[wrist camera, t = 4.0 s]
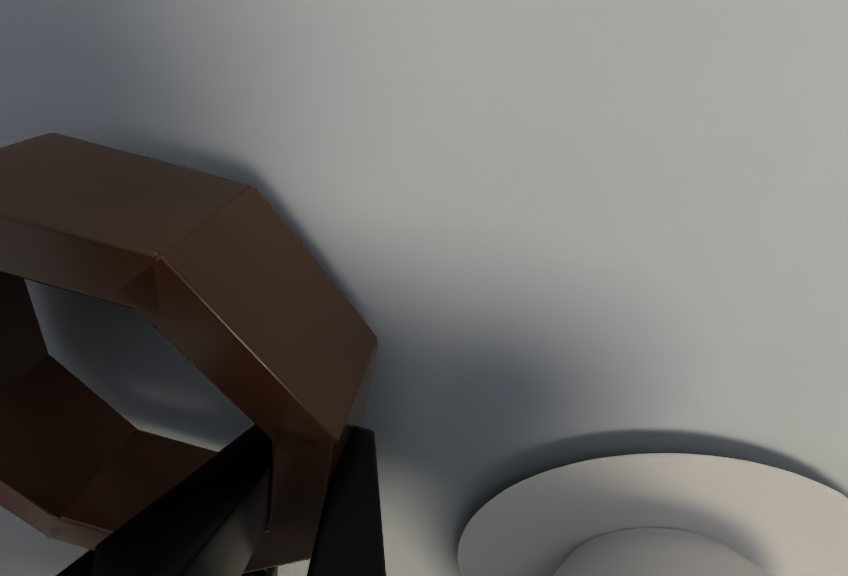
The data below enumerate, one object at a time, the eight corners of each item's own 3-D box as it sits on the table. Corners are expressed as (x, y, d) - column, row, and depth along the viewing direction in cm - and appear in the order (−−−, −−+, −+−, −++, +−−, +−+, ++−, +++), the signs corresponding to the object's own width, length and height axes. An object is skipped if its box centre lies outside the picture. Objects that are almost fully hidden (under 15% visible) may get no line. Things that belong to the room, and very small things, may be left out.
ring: (345, 510, 12) (310, 615, 10) (39, 423, 12) (-56, 509, 10) (401, 222, 7) (359, 309, 5) (-88, 92, 8) (-302, 129, 6)
